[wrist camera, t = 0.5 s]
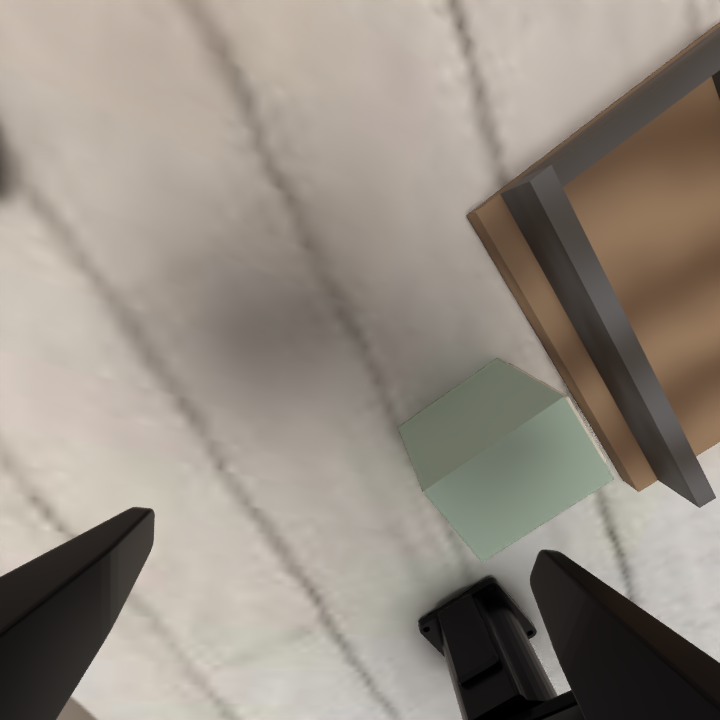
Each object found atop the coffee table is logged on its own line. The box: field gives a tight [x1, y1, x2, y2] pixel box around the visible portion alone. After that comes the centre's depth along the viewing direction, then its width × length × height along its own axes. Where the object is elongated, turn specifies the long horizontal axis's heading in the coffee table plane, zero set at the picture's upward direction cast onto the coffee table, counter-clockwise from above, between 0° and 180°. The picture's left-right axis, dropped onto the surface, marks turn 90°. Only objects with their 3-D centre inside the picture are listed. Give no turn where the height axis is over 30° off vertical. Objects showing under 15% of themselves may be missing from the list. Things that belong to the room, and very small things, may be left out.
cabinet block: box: [398, 358, 614, 562], centre depth 18 cm, size 5×7×6 cm
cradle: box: [467, 23, 720, 508], centre depth 17 cm, size 20×14×4 cm
